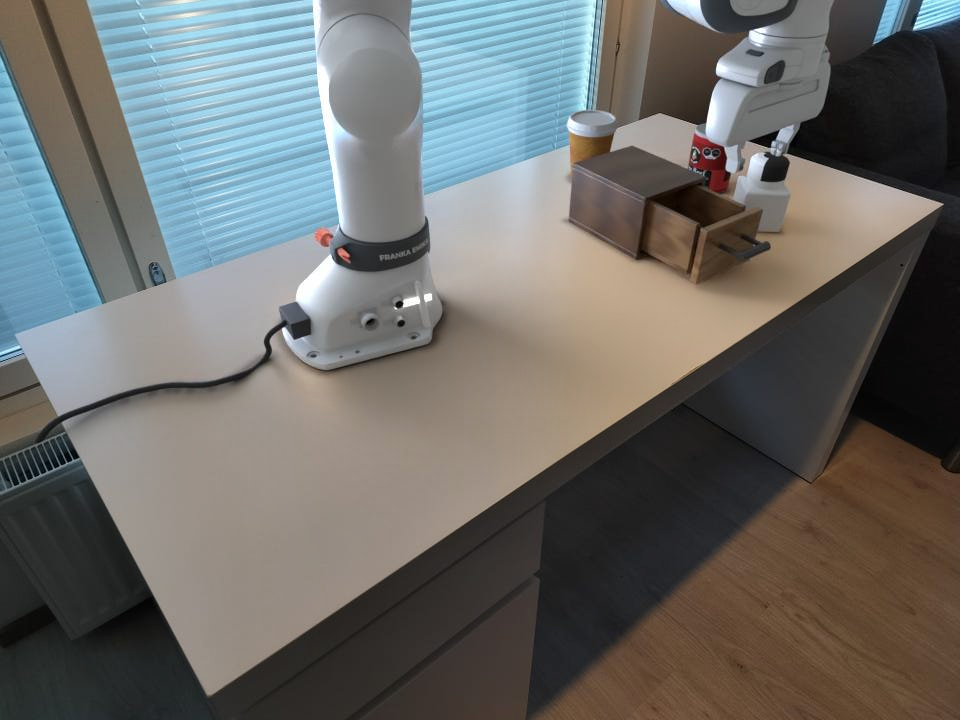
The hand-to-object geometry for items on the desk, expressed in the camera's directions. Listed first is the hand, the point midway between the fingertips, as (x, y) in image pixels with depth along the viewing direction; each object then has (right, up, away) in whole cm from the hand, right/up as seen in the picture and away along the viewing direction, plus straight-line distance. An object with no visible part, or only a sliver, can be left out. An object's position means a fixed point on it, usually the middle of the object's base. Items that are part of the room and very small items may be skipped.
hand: (756, 162), depth 93 cm
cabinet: (-12, -4, +25) cm, 28 cm away
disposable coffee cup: (-17, +9, +41) cm, 45 cm away
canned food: (+6, +6, +38) cm, 39 cm away
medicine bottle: (+10, -3, +26) cm, 28 cm away
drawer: (-4, -11, +15) cm, 19 cm away
